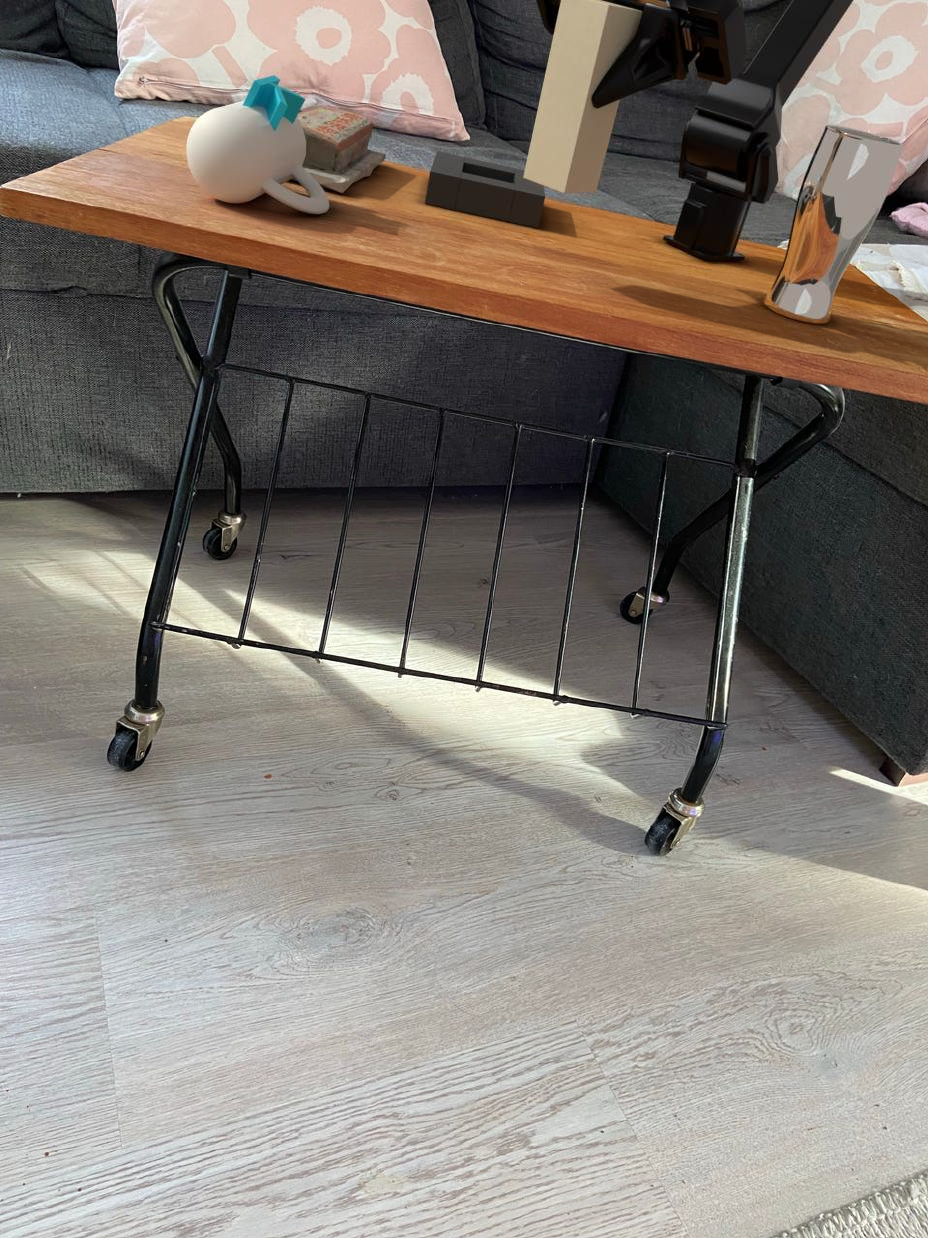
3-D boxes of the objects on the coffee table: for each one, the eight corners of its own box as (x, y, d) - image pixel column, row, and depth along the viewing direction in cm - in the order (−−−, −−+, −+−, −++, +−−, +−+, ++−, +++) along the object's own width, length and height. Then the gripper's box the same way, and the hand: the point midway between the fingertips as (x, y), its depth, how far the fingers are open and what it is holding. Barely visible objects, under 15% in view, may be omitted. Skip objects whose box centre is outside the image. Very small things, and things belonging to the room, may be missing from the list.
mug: (207, 66, 75) (261, 57, 85) (159, 171, 80) (216, 151, 90) (336, 166, 77) (374, 145, 87) (282, 262, 82) (324, 232, 92)
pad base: (535, 203, 107) (542, 173, 105) (538, 228, 97) (545, 196, 96) (432, 180, 106) (437, 150, 104) (424, 203, 96) (430, 171, 95)
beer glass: (744, 301, 90) (808, 121, 81) (781, 295, 94) (846, 125, 86) (811, 329, 86) (885, 144, 78) (846, 322, 91) (920, 146, 82)
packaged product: (301, 94, 105) (391, 117, 105) (296, 143, 107) (384, 165, 107) (245, 114, 90) (350, 140, 90) (241, 170, 93) (343, 196, 92)
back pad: (555, 177, 83) (596, -2, 76) (596, 192, 81) (642, 10, 74) (522, 177, 80) (562, -8, 73) (564, 193, 78) (609, 4, 71)
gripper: (572, -176, 75) (447, -24, 73) (787, -143, 66) (649, 31, 64) (603, -39, 84) (493, 97, 83) (795, 6, 75) (674, 159, 74)
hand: (569, 95), depth 76 cm, fingers closed on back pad, 4 cm apart
